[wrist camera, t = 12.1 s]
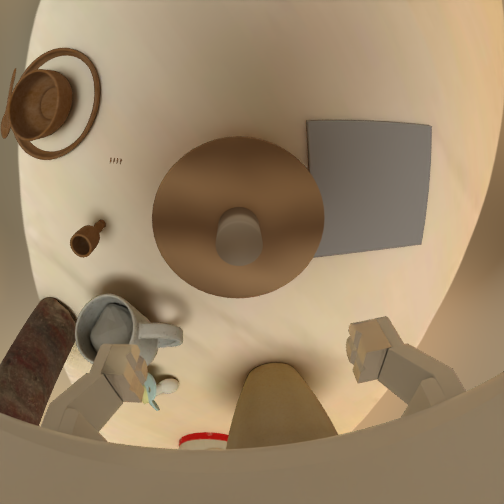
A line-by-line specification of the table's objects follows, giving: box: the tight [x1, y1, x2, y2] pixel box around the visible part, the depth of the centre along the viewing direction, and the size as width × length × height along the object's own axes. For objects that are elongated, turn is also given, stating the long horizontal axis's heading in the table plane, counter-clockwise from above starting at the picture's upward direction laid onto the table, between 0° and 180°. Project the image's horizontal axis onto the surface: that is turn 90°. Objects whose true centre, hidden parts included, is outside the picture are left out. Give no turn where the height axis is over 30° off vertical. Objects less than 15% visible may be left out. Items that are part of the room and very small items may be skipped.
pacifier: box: [142, 373, 179, 411], centre depth 38 cm, size 7×6×6 cm
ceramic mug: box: [75, 294, 183, 366], centre depth 28 cm, size 11×8×8 cm
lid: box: [152, 137, 325, 298], centre depth 21 cm, size 13×13×5 cm
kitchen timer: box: [179, 432, 229, 450], centre depth 44 cm, size 14×14×15 cm
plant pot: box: [226, 363, 338, 449], centre depth 33 cm, size 15×15×16 cm
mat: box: [306, 120, 432, 258], centre depth 27 cm, size 14×14×1 cm
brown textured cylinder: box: [0, 298, 76, 426], centre depth 24 cm, size 8×7×20 cm
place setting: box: [1, 48, 122, 257], centre depth 21 cm, size 18×20×6 cm
